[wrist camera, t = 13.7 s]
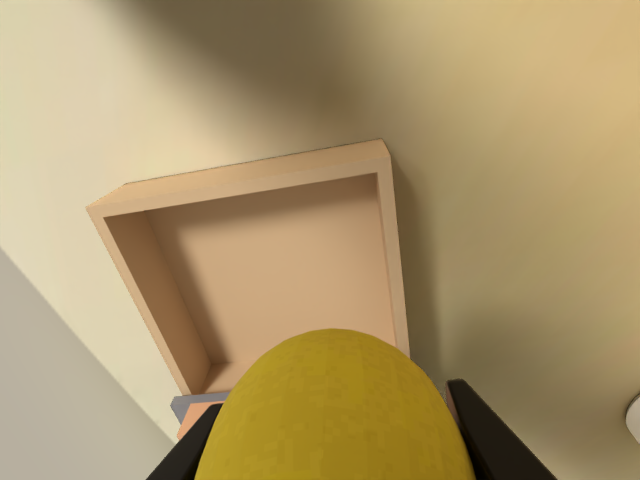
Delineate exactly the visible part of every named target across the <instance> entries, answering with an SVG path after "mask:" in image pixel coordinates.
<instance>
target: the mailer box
mask: <svg viewBox="0 0 640 480" xmlns="http://www.w3.org/2000/svg"><path fill="white" fill-rule="evenodd" d="M85 208H86V210H87V212H88V214H89V216H90V218H91V220H92V221H93V223H94V225H95V227H96V229H97V231H98V233H99V235H100V237H101V239H102V241H103V243H104V245H105V247H106V249H107V250H108V252H109V254H110V256H111V258H112V260H113V262H114V264H115V266H116V268H117V270H118V272H119V274H120V276H121V277H122V279H123V281H124V283H125V285H126V287H127V289H128V291H129V293H130V295H131V297H132V299H133V301H134V303H135V304H136V306H137V308H138V310H139V312H140V314H141V316H142V318H143V320H144V322H145V324H146V326H147V328H148V330H149V331H150V333H151V335H152V337H153V339H154V341H155V343H156V345H157V347H158V349H159V351H160V353H161V355H162V357H163V358H164V360H165V362H166V364H167V366H168V368H169V370H170V372H171V374H172V376H173V378H174V380H175V382H176V384H177V386H178V387H179V389H180V391H181V393H182V395H183V396H189V395H201V394H212V393H224V392H231V391H232V389H233V388H234V386H235V385H236V384H237V382H238V381H239V380H240V379H241V377H242V376H243V375H244V374H245V373H246V372H247V370H248V369H249V368H250V367H251V366H252V365H253V364H254V363H255V362H256V361H257V359H258V358H259V357H260V356H262V355H263V354H265V353H266V352H267V351H269V350H270V349H272V348H273V347H275V346H277V345H278V344H280V343H281V342H283V341H284V340H286V339H289V338H291V337H294V336H297V335H300V334H303V333H306V332H309V331H313V330H321V329H329V328H336V329H349V330H355V331H359V332H362V333H366V334H369V335H373V336H375V337H377V338H379V339H381V340H383V341H384V342H386V343H388V344H390V345H392V346H394V347H396V348H398V349H399V350H400V351H401V352H403V353H404V354H405V355H406V356H407V357H408V358H410V349H409V339H408V329H407V319H406V308H405V298H404V288H403V278H402V268H401V258H400V247H399V237H398V227H397V217H396V207H395V196H394V186H393V176H392V166H391V156H390V154H389V152H388V150H387V148H386V146H385V144H384V142H383V139H382V138H381V139H376V140H370V141H364V142H359V143H353V144H347V145H342V146H336V147H330V148H325V149H319V150H313V151H308V152H302V153H296V154H291V155H285V156H279V157H274V158H268V159H262V160H257V161H251V162H245V163H240V164H234V165H228V166H223V167H217V168H211V169H206V170H200V171H194V172H189V173H183V174H177V175H172V176H166V177H160V178H155V179H149V180H143V181H138V182H132V183H126V184H124V185H123V186H121V187H119V188H118V189H116V190H114V191H112V192H111V193H109V194H107V195H106V196H104V197H102V198H101V199H99V200H97V201H95V202H94V203H92V204H90V205H89V206H87V207H85Z"/></svg>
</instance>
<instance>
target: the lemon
mask: <svg viewBox="0 0 640 480" xmlns="http://www.w3.org/2000/svg"><path fill="white" fill-rule="evenodd" d="M194 480H476V476H475V472H474V469H473V465H472V461H471V459H470V456H469V453H468V450H467V447H466V444H465V442H464V439H463V437H462V435H461V432H460V430H459V428H458V425H457V424H456V422H455V420H454V418H453V416H452V414H451V412H450V410H449V409H448V407H447V405H446V404H445V402H444V400H443V398H442V397H441V395H440V393H439V392H438V390H437V389H436V387H435V386H434V384H433V383H432V381H431V379H430V378H429V377H428V376H427V375H426V374H425V373H424V371H423V370H422V369H421V368H420V367H418V366H417V365H416V364H415V363H414V362H413V361H412V360H411V359H410V358H408V357H407V356H406V355H405V354H404V353H403V352H401V351H400V350H399V349H398V348H396V347H394V346H392V345H390V344H388V343H386V342H384V341H383V340H381V339H379V338H377V337H375V336H373V335H369V334H366V333H362V332H359V331H355V330H349V329H336V328H329V329H321V330H313V331H309V332H306V333H303V334H300V335H297V336H294V337H291V338H289V339H286V340H284V341H283V342H281V343H280V344H278V345H277V346H275V347H273V348H272V349H270V350H269V351H267V352H266V353H265V354H263V355H262V356H260V357H259V358H258V359H257V361H256V362H255V363H254V364H253V365H252V366H251V367H250V368H249V369H248V370H247V372H246V373H245V374H244V375H243V376H242V377H241V379H240V380H239V381H238V382H237V384H236V385H235V386H234V388H233V389H232V391H231V392H230V393H229V395H228V397H227V399H226V400H225V402H224V404H223V405H222V407H221V409H220V411H219V414H218V416H217V418H216V420H215V422H214V425H213V427H212V430H211V432H210V435H209V438H208V440H207V443H206V446H205V448H204V451H203V454H202V456H201V459H200V462H199V466H198V469H197V472H196V476H195V479H194Z"/></svg>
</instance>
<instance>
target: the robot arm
mask: <svg viewBox="0 0 640 480" xmlns="http://www.w3.org/2000/svg"><path fill="white" fill-rule="evenodd" d="M446 397H447V407H448V409H449V410H450V412H451V414H452V416H453V418H454V420H455V422H456V424H457V425H458V428H459V430H460V432H461V435H462V437H463V439H464V442H465V444H466V447H467V450H468V453H469V456H470V459H471V461H472V465H473V469H474V472H475V476H476V480H558V479H557V478H556V477H555V476H554V475H553V474H552V473H551V472H550V471H549V470H548V469H547V468H546V467H545V466H544V464H543V463H542V462H541V461H540V460H539V459H538V458H537V457H536V456H535V455H534V454H533V453H532V452H531V451H530V450H529V448H528V447H527V446H526V445H525V444H524V443H523V442H522V441H521V440H520V439H519V438H518V437H517V436H516V435H515V434H514V432H513V431H512V430H511V429H510V428H509V427H508V426H507V425H506V424H505V423H504V422H503V421H502V420H501V419H500V418H499V417H498V415H497V414H496V413H495V412H494V411H493V410H492V409H491V408H490V407H489V406H488V405H487V404H486V403H485V402H484V401H483V399H482V398H481V397H480V396H479V395H478V394H477V393H476V392H475V391H474V390H473V389H472V388H471V387H470V386H469V385H468V383H467V382H466V381H464V380H463V379H454V380H447V381H446ZM223 404H224V403H217V404H212V405H210V406H209V407H208V408H207V409H206V411H205V412H204V413H203V414H202V415H201V416H200V417H199V419H198V420H197V421H196V422H195V423H194V424H193V426H192V427H191V428H190V429H189V430H188V431H187V433H186V434H185V435H184V436H183V437H182V438H181V439H180V441H179V442H178V443H177V444H176V445H175V446H174V448H173V449H172V450H171V451H170V452H169V453H168V454H167V456H166V457H165V458H164V459H163V460H162V461H161V463H160V464H159V465H158V466H157V467H156V468H155V470H154V471H153V472H152V473H151V474H150V475H149V477H148V478H147V479H146V480H194V479H195V476H196V472H197V469H198V466H199V462H200V459H201V456H202V454H203V451H204V448H205V446H206V443H207V440H208V438H209V435H210V432H211V430H212V427H213V425H214V422H215V420H216V418H217V416H218V414H219V411H220V409H221V407H222V405H223Z"/></svg>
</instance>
